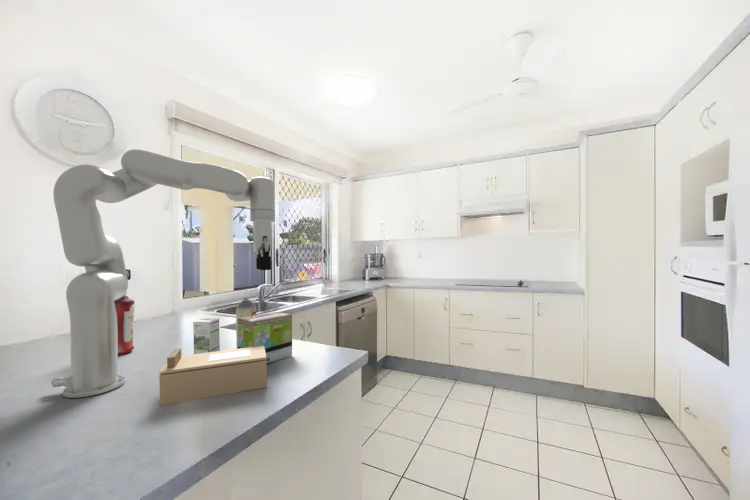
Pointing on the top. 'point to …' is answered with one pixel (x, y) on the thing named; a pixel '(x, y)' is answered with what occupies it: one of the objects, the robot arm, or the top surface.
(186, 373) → the mailer box
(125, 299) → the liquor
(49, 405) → the top surface
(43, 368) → the top surface
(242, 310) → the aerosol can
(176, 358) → the mailer lid
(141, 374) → the top surface
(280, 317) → the tea box
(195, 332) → the syrup box
